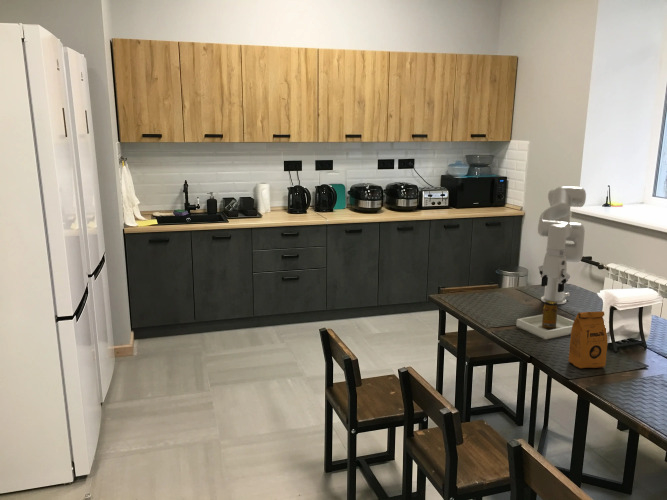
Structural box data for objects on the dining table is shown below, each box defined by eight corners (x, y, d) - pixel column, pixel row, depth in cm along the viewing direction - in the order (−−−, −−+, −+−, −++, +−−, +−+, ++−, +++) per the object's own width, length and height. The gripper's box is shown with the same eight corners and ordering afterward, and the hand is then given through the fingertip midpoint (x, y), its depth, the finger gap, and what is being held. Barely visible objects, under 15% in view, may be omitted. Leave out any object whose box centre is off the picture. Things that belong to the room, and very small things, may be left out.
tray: (551, 319, 273) (552, 312, 272) (582, 331, 257) (582, 324, 257) (516, 326, 264) (516, 319, 263) (545, 339, 248) (546, 331, 247)
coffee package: (608, 370, 217) (615, 315, 213) (577, 371, 216) (583, 316, 212) (595, 359, 227) (600, 307, 222) (565, 360, 226) (570, 307, 221)
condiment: (546, 323, 265) (548, 299, 263) (563, 328, 259) (565, 303, 256) (537, 327, 261) (539, 302, 258) (554, 332, 255) (557, 306, 252)
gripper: (577, 255, 247) (573, 293, 251) (547, 247, 262) (544, 282, 266) (564, 257, 244) (561, 295, 248) (534, 248, 259) (531, 284, 263)
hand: (552, 288), depth 257 cm, fingers open, 9 cm apart
